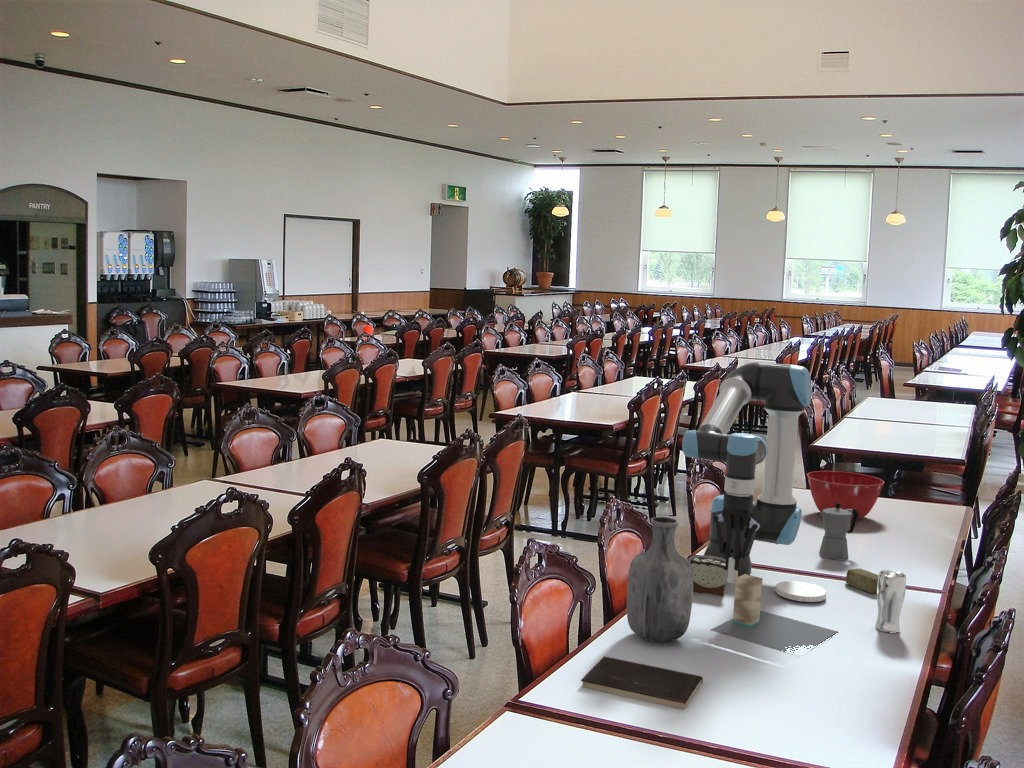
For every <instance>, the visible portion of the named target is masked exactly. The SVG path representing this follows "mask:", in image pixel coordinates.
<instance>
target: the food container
mask: <svg viewBox="0 0 1024 768" xmlns="http://www.w3.org/2000/svg"><path fill="white" fill-rule="evenodd" d="M688 561H689V562H690V564H691V565H692V569H693V594H697V595H703V594H708V595H713V596H717V597H718V596H720V597H724V596H725V594H726V593H725V591H726V588H727V587H726V586H727V583H728V582H727V578H728V568H726V559H723V558H720V557H715V556H706V555H704V554H703V555H694V556H690V557H689V559H688Z"/></svg>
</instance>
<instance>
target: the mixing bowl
mask: <svg viewBox="0 0 1024 768" xmlns="http://www.w3.org/2000/svg"><path fill="white" fill-rule="evenodd" d="M806 476H807V480H808V485H809V490H810V493H811V496H812V499H813V502H814V504H815V507H816V508H817V510H818V511H819V512H820V513H822V512H823V511H822V510H824V509H827V508H836V504H835V503H840V504H841V505H840V508H841V509H844V510H846V509H856V511H857V512H858V513H859V516H858V519H857V521H859V520H861V519H862V518H865V517H866V516H867V515H868V514H869V513H870V512H871V510H872V509H873V507H874V506H875V504H876V502H877V501H878V499H879V496H880V494H881V492H882V489H883V486H884V484H885V481H884V480H883V479H881V478H880V477H876V476H874V475H873V476H871V475H869V474H868V475H867V474H863V473H856V472H850V471H839V470H838V471H836V470H819V471H817V470H815V471H810V472H808V473H806ZM853 516H854V515H853V514H852V517H851V521H852V520H853Z"/></svg>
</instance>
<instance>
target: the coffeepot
mask: <svg viewBox="0 0 1024 768" xmlns="http://www.w3.org/2000/svg"><path fill="white" fill-rule="evenodd" d="M835 504H836V508H827V509H824V510H822V511H823V512H822V513H821V512H820V516H822V524H823V526H822V527H823V531H824V535H823V537H822V541H821V545H820V549H819V550H818V551H819V552H818V554H819V556H820V557H822V556H823V557H822V558H824V557H827V558H826V559H828V558H831V559H830V560H833V559H845V560H847V559H848V558H849V551H848V539H847V534H852V533H853V532H854V530H855V527H856V523H857V521H858V520H857V519H858V516H859V513H858V512H857V511H856V509H846V510H844V509H841V508H840V505H841V504H840V503H835ZM852 514H853V515H854V516H853V520H851V517H852ZM846 558H847V559H846Z"/></svg>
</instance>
